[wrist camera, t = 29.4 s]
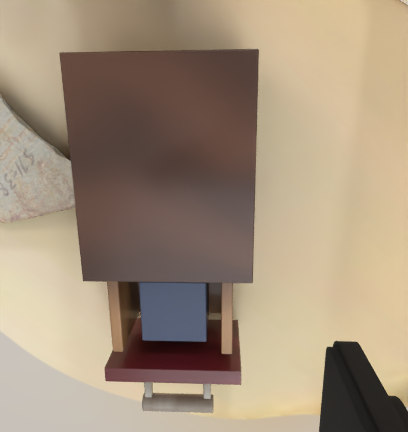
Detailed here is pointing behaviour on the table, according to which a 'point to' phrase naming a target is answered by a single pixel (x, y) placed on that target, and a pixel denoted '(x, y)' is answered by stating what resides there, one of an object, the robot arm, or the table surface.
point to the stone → (30, 171)
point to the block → (174, 311)
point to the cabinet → (163, 163)
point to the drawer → (173, 351)
